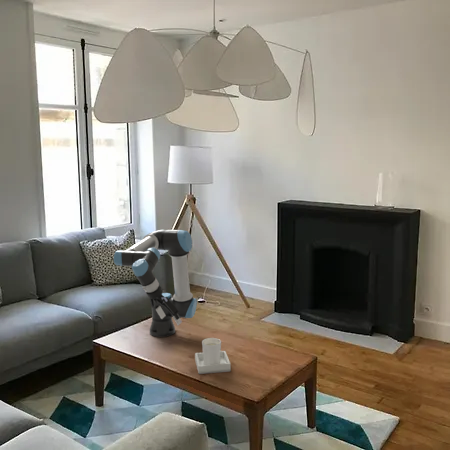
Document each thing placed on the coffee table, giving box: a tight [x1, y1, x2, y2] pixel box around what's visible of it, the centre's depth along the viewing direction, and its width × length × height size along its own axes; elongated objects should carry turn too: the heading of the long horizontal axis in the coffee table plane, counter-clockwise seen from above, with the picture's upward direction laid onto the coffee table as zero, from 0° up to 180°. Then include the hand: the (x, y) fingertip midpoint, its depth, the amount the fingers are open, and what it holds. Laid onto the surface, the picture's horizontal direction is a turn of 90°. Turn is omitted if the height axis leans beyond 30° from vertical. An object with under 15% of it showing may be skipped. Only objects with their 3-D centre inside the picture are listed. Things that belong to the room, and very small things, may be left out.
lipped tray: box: [194, 350, 232, 375], centre depth 265 cm, size 16×16×4 cm
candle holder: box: [201, 337, 222, 365], centre depth 265 cm, size 10×10×12 cm
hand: (171, 320), depth 258 cm, fingers open, 13 cm apart
